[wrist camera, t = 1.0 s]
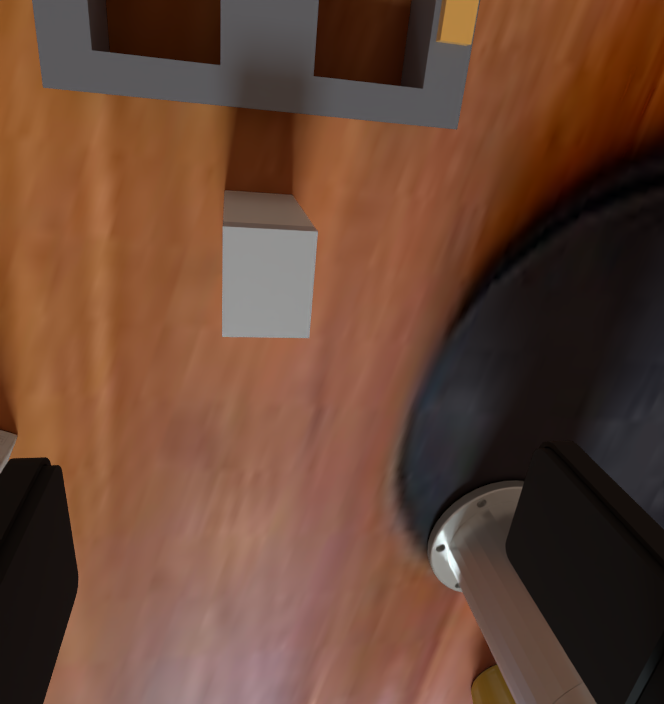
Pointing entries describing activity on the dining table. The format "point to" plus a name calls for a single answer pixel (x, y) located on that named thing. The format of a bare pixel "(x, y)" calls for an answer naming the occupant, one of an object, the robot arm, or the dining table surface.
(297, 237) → the plug
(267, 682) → the dining table surface
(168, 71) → the power strip
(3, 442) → the supplement box
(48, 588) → the robot arm
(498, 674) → the plant pot
